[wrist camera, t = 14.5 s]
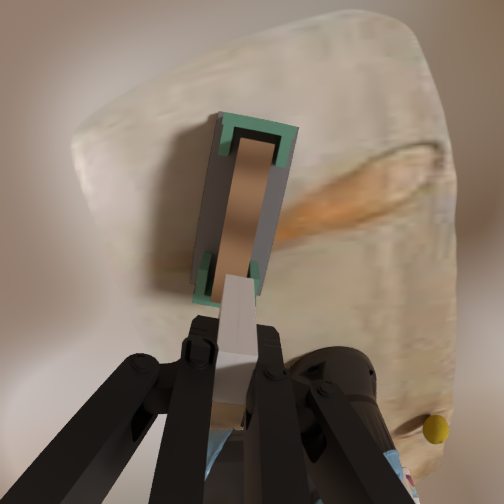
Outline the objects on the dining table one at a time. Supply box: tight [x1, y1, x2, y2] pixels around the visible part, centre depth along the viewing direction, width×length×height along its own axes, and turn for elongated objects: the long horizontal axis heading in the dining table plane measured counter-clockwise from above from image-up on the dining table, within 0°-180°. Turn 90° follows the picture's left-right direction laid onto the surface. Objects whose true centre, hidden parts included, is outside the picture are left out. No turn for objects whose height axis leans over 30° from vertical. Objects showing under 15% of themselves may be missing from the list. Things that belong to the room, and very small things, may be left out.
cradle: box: [190, 111, 299, 308], centre depth 35 cm, size 21×9×6 cm, turn 169°
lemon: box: [423, 415, 449, 444], centre depth 50 cm, size 6×6×8 cm
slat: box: [210, 137, 275, 304], centre depth 33 cm, size 16×3×8 cm, turn 169°
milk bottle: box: [402, 468, 420, 504], centre depth 54 cm, size 8×8×20 cm
